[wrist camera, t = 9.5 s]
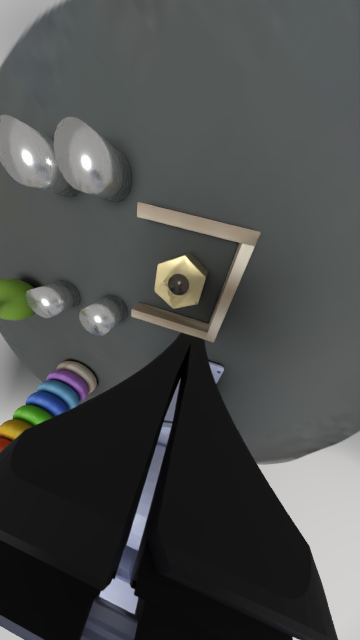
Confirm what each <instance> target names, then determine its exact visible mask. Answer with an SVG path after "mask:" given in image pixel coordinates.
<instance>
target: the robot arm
mask: <svg viewBox="0 0 360 640" xmlns="http://www.w3.org/2000/svg"><path fill="white" fill-rule="evenodd" d="M218 371H220V372H218ZM223 371H224V368H223V366H221V365H218V364H215V363H212V362H209V361H208V357H207V353H206V348H205V341H204V339H202V338H199V337H195V336H192V335H188V334H185V333H181V334H180V335H179V336H178V337H177V339H176V340H175V341H174V342H173V343H172V344H171V345H170V346H169V347H168V348H167V349H166V350H165V351H164V352H163V353H161V354H160V355H159V356H158V357H157V358H155V359H154V360H153V361H152V362H151V363H149V364H148V365H147V366H145V367H144V368H142V369H141V370H140V371H138V372H137V373H135V374H134V375H132V376H131V377H129V378H127V379H126V380H124V381H123V382H121V383H119V384H118V385H116V386H114V387H113V388H111V389H109V390H107V391H105V392H103V393H102V394H100V395H98V396H96V397H94V398H92V399H90V400H88V401H86V402H84V403H82V404H80V405H78V406H76V407H74V408H72V409H70V410H68V411H66V412H63V413H61V414H59V415H57V416H54V417H52V418H50V419H48V420H46V421H43V422H41V423H39V424H37V425H34V426H32V427H30V428H28V429H26V430H24V431H23V432H22V433H21V434H20V435H19V436H18V437H17V438H16V439H14V440H13V441H12V442H11V443H10V444H8V445H7V446H6V447H5V448H4V449H3V450H2V451H1V452H0V626H2V627H3V628H5V629H7V630H8V631H10V632H12V633H14V634H15V635H17V636H19V637H21V638H22V639H24V640H293V639H292V637H295V638H297V639H300V640H338V638H337V635H336V631H335V628H334V624H333V621H332V617H331V614H330V611H329V607H328V603H327V599H326V596H325V593H324V589H323V586H322V583H321V579H320V576H319V573H318V571H317V568H316V565H315V562H314V560H313V556H312V553H311V550H310V547H309V545H308V544H307V542H306V541H305V539H304V537H303V536H302V534H301V533H300V532H299V530H298V528H297V527H296V525H295V524H294V522H293V521H292V519H291V518H290V516H289V515H288V514H287V512H286V510H285V509H284V507H283V505H282V504H281V502H280V501H279V499H278V498H277V496H276V495H275V493H274V491H273V490H272V488H271V487H270V485H269V483H268V482H267V480H266V479H265V477H264V475H263V474H262V472H261V470H260V469H259V467H258V465H257V464H256V462H255V460H254V459H253V457H252V455H251V453H250V452H249V450H248V448H247V446H246V444H245V443H244V441H243V439H242V437H241V435H240V434H239V432H238V430H237V428H236V426H235V424H234V423H233V421H232V418H231V416H230V414H229V412H228V410H227V408H226V406H225V404H224V402H223V400H222V397H221V395H220V393H219V390H218V388H217V385H216V384H217V382H218V380H219V378H220V377H221V375H222V373H223Z"/></svg>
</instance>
